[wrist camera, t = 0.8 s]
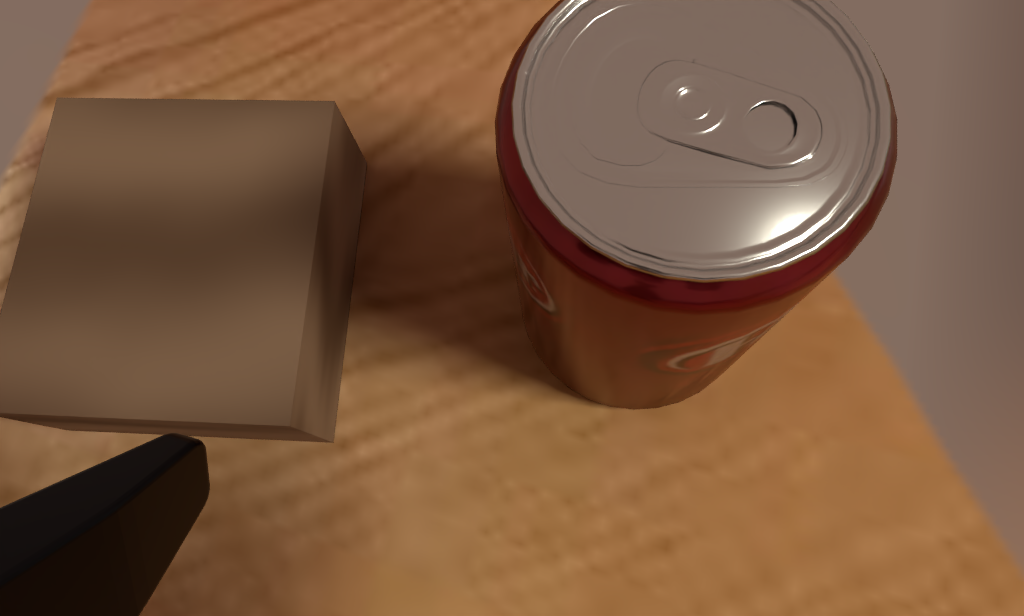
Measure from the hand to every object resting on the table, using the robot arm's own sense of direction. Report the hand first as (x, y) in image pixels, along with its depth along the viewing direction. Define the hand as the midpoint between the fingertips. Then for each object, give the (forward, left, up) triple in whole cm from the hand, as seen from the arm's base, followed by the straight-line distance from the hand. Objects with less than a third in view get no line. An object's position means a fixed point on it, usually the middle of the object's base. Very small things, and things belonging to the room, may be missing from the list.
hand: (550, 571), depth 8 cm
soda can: (+8, -2, -14) cm, 17 cm away
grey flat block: (+8, +12, -14) cm, 20 cm away
